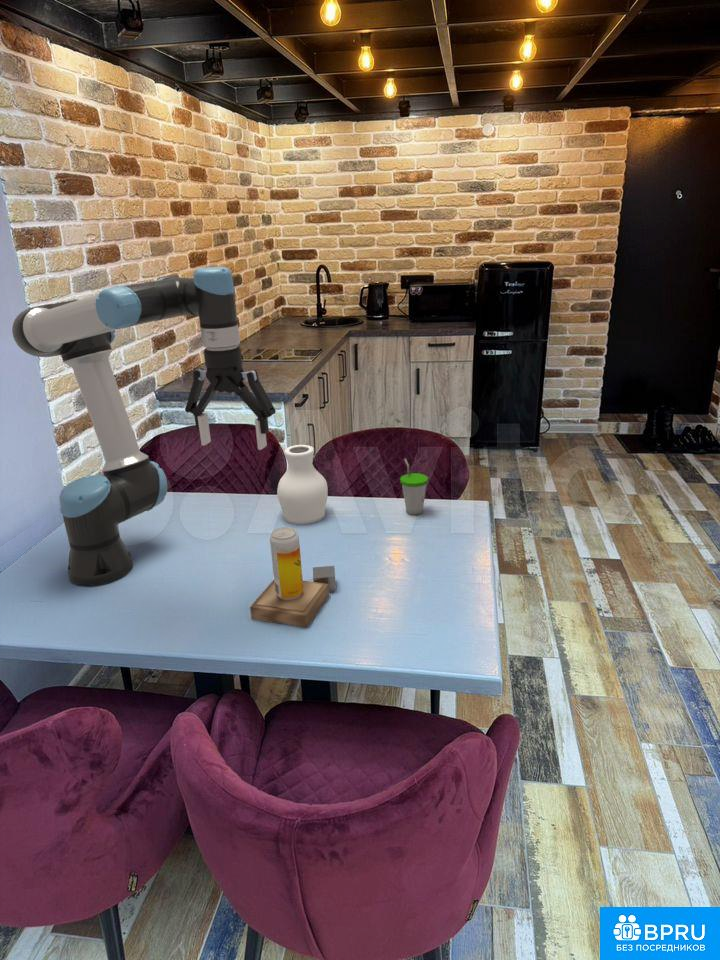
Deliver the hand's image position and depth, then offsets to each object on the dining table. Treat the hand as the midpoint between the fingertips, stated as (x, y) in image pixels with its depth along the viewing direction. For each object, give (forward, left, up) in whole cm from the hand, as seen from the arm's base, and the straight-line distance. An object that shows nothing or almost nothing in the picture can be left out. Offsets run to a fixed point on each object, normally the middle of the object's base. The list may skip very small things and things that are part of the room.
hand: (234, 445), depth 147 cm
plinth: (+13, -6, -35) cm, 38 cm away
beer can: (+13, -6, -32) cm, 35 cm away
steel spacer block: (+17, +4, -35) cm, 39 cm away
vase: (-3, +39, -35) cm, 52 cm away
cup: (+27, +48, -35) cm, 65 cm away
